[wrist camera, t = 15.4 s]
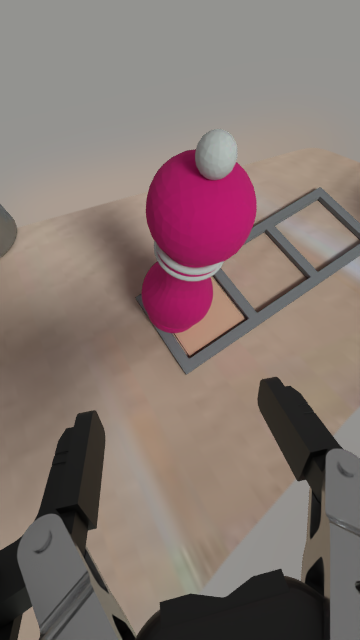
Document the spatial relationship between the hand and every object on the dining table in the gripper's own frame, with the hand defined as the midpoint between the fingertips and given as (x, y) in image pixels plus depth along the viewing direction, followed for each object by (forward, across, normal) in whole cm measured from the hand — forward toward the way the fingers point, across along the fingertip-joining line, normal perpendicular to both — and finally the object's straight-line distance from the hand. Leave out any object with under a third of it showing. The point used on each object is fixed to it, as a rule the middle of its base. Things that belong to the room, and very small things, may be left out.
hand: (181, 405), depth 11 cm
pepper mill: (+17, -2, +4) cm, 18 cm away
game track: (+19, -14, +2) cm, 24 cm away
